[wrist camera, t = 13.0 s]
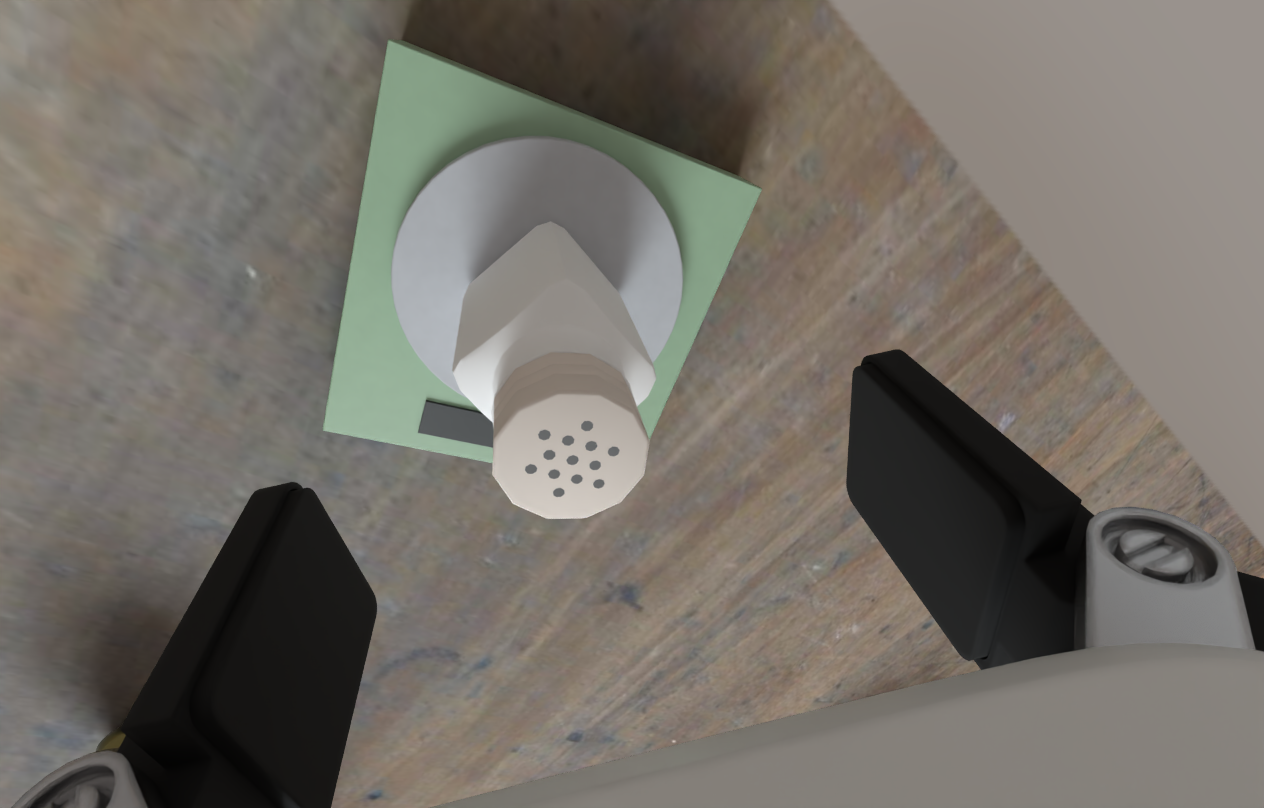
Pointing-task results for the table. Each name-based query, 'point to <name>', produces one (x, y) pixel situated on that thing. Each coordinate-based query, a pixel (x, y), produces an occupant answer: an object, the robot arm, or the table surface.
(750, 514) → the table surface
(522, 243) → the pepper shaker
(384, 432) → the kitchen scale
